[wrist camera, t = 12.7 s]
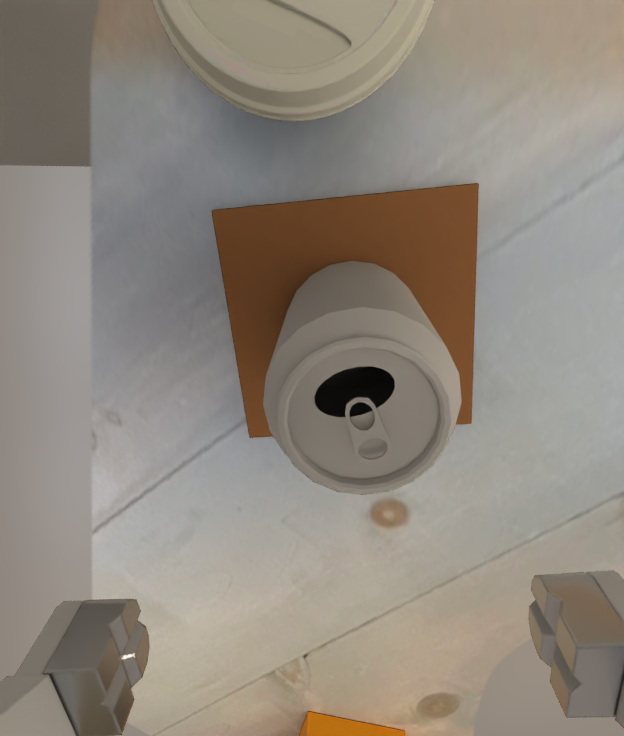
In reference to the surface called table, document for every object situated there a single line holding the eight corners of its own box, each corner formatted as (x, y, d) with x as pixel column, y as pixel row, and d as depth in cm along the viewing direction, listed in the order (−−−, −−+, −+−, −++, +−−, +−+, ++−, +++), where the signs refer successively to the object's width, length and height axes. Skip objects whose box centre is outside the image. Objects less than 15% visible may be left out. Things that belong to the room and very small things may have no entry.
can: (396, 238, 26) (444, 289, 15) (432, 361, 28) (495, 483, 17) (267, 284, 27) (221, 362, 16) (312, 398, 30) (300, 533, 19)
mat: (250, 434, 31) (249, 438, 31) (213, 209, 26) (211, 210, 26) (469, 420, 30) (471, 423, 30) (476, 183, 25) (478, 183, 25)
